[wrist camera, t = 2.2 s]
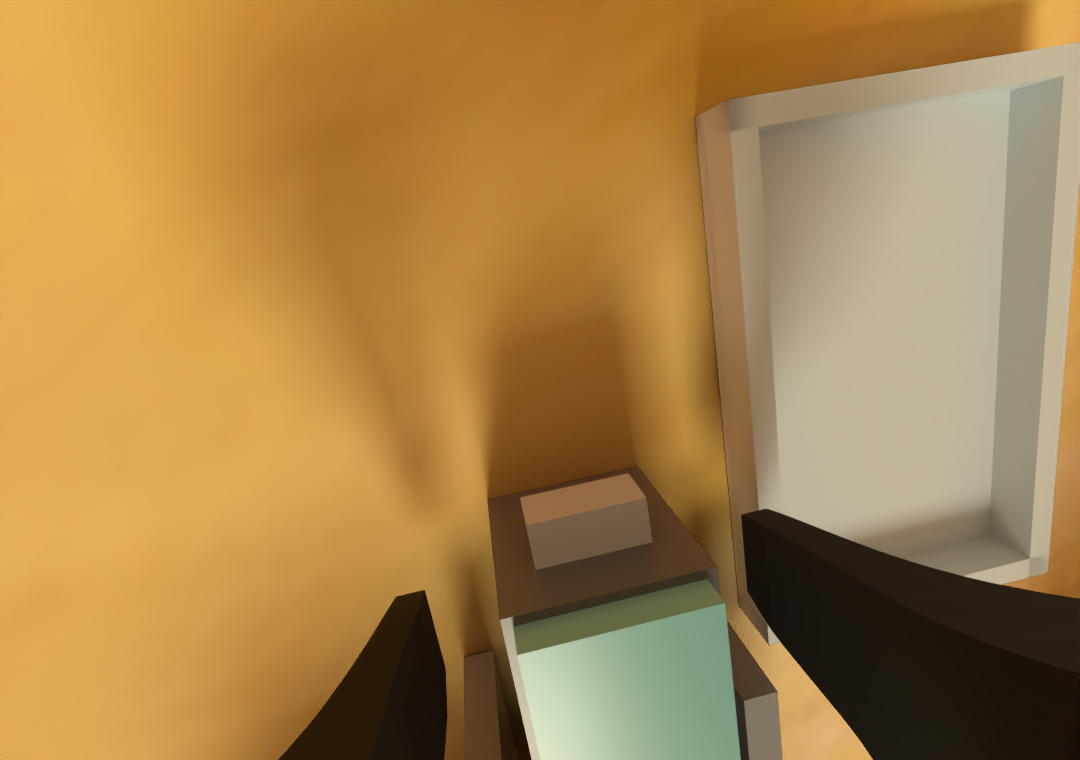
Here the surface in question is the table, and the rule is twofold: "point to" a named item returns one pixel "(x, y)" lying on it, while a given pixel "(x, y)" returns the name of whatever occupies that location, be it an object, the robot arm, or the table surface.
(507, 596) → the mint green tabbed block
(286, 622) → the table surface
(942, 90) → the tray
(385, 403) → the table surface
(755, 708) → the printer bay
